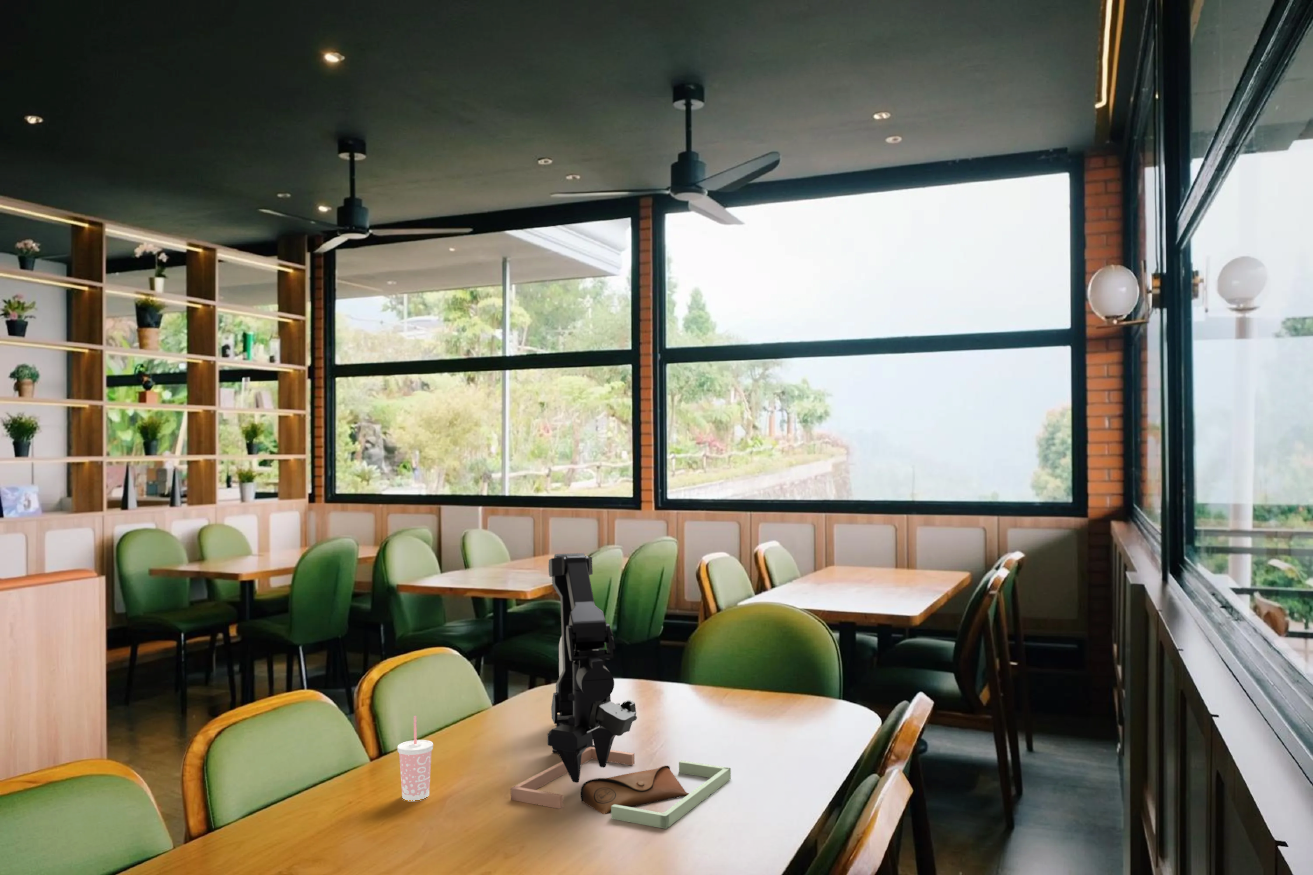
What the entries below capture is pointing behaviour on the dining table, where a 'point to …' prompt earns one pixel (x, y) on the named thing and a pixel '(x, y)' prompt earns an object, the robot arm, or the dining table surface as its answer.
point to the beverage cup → (415, 767)
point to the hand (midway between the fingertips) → (589, 774)
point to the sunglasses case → (631, 789)
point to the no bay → (528, 787)
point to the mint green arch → (674, 813)
